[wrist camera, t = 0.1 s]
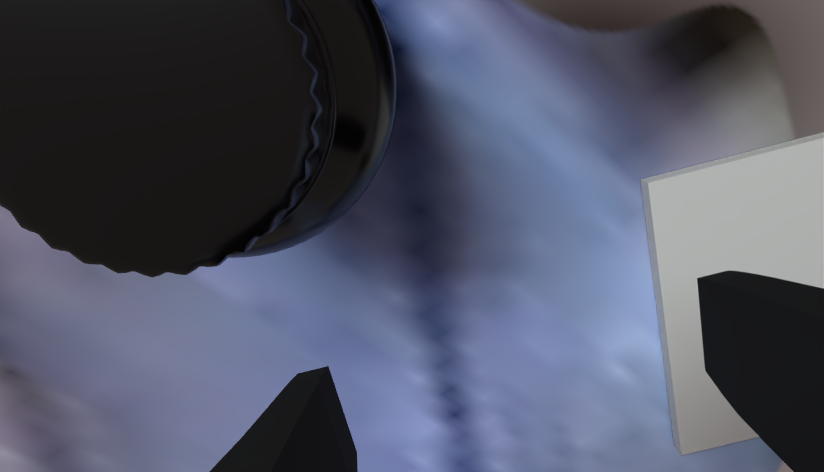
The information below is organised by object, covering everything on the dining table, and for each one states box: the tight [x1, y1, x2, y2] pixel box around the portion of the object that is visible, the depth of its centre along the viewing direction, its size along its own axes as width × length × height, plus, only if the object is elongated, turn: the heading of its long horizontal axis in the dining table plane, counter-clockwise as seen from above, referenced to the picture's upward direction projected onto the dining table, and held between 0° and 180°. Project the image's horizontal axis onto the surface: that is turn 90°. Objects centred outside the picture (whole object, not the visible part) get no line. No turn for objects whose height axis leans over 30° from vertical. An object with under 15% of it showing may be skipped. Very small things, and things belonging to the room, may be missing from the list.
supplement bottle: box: [0, 0, 397, 277], centre depth 13 cm, size 7×7×12 cm
